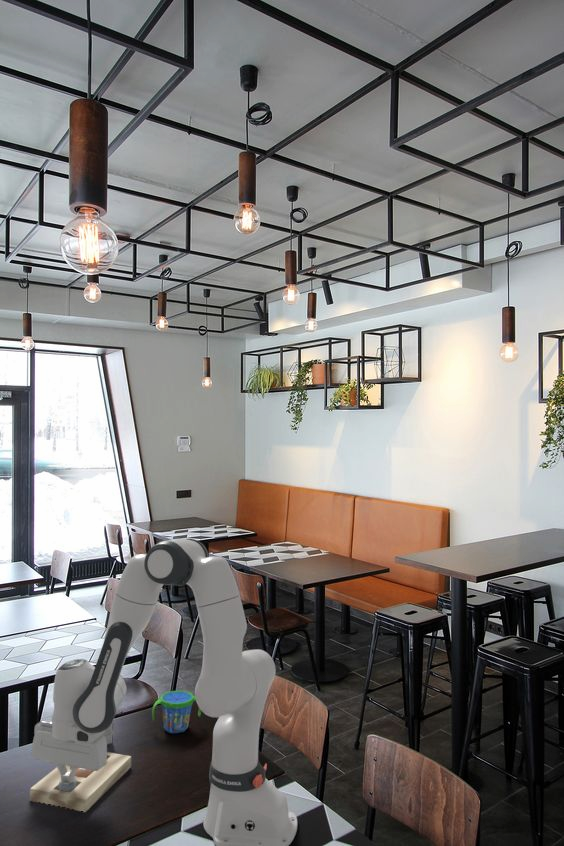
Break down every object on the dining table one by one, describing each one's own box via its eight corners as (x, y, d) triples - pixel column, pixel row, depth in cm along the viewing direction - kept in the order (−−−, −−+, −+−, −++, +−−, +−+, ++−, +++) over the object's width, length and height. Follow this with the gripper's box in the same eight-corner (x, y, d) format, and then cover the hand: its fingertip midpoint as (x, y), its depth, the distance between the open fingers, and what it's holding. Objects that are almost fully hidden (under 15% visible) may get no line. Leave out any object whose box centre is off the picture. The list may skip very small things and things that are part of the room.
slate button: (79, 793, 153) (79, 778, 154) (69, 802, 149) (69, 787, 150) (64, 790, 155) (65, 775, 155) (54, 799, 151) (55, 784, 151)
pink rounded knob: (94, 779, 160) (95, 764, 160) (85, 787, 156) (85, 772, 156) (80, 776, 161) (81, 762, 161) (71, 785, 157) (72, 770, 157)
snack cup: (199, 720, 198) (200, 688, 198) (201, 735, 187) (202, 702, 188) (151, 723, 194) (152, 691, 195) (151, 738, 184) (152, 705, 184)
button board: (130, 767, 167) (131, 756, 167) (85, 812, 146) (85, 799, 146) (81, 758, 171) (81, 747, 172) (29, 800, 150) (30, 788, 150)
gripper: (27, 725, 153) (24, 780, 152) (97, 737, 147) (95, 794, 147) (43, 714, 159) (40, 768, 158) (111, 726, 153) (109, 781, 153)
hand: (67, 781), depth 152 cm, fingers closed, pressing on slate button
